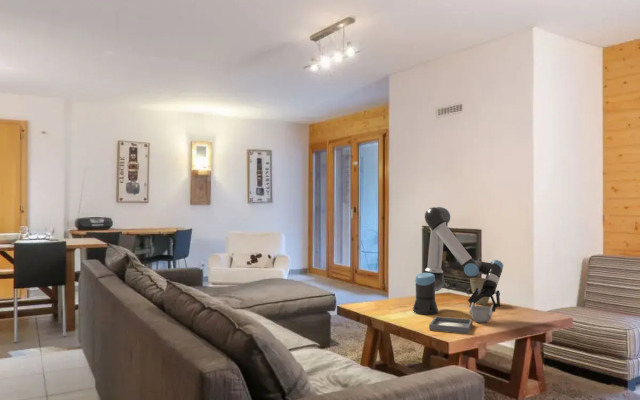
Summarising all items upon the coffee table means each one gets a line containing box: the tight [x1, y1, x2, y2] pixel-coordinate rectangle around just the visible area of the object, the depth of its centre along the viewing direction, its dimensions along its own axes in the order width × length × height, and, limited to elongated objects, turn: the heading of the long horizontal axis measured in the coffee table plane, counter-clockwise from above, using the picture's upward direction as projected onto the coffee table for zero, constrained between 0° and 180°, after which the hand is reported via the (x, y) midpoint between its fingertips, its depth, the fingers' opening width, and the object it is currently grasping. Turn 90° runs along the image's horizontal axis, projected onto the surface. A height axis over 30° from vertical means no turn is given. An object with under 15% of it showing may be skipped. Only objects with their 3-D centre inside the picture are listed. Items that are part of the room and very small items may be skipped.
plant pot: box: [469, 277, 491, 305], centre depth 331 cm, size 15×15×16 cm
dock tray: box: [428, 316, 473, 335], centre depth 267 cm, size 20×20×3 cm
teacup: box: [470, 305, 492, 324], centre depth 281 cm, size 14×11×8 cm
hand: (479, 314), depth 279 cm, fingers closed on teacup, 11 cm apart
